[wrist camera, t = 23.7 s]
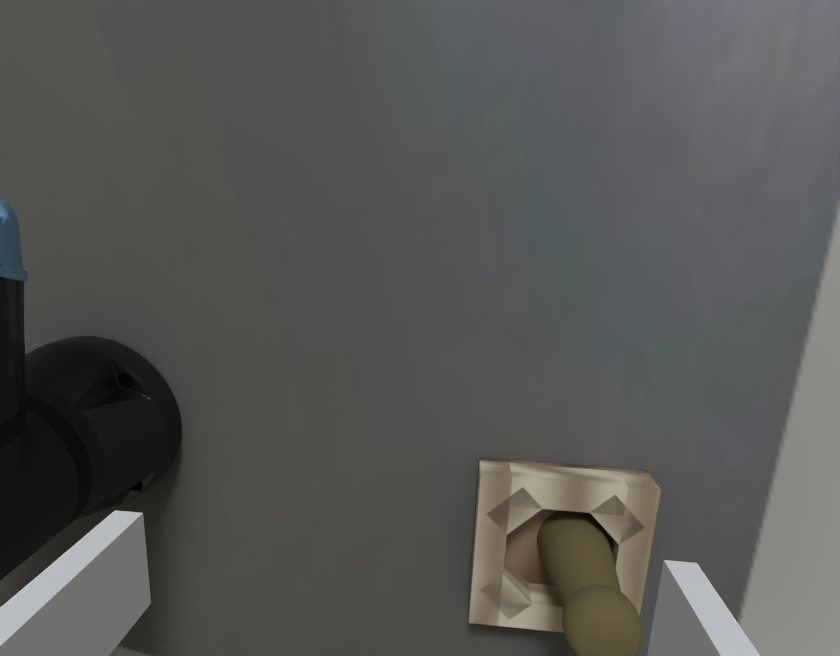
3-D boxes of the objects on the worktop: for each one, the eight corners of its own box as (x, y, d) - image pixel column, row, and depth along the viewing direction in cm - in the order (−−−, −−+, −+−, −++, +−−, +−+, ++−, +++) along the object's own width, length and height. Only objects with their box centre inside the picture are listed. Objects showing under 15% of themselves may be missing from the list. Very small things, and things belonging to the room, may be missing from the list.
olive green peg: (611, 566, 43) (661, 681, 33) (541, 573, 44) (567, 688, 33) (603, 504, 42) (652, 602, 31) (532, 513, 43) (555, 612, 32)
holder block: (468, 596, 46) (468, 622, 43) (479, 457, 43) (480, 475, 40) (624, 612, 45) (635, 639, 42) (646, 470, 42) (660, 489, 39)
